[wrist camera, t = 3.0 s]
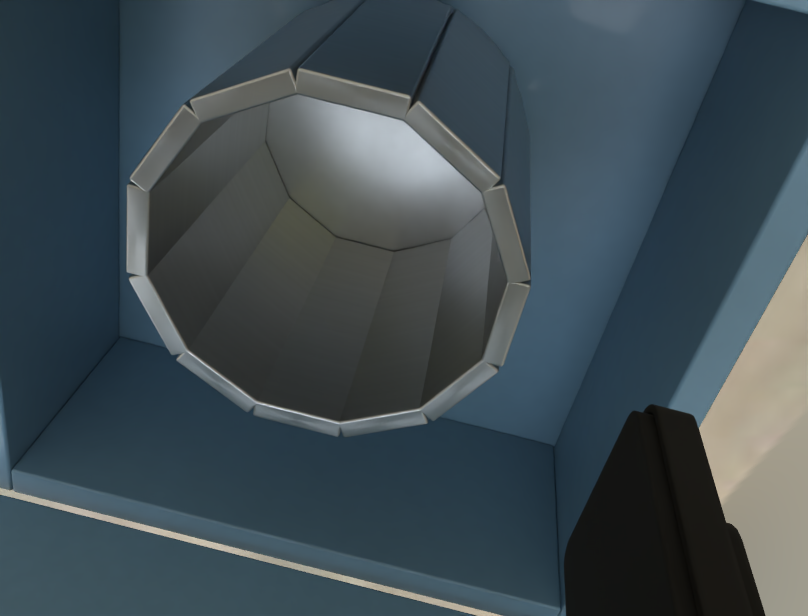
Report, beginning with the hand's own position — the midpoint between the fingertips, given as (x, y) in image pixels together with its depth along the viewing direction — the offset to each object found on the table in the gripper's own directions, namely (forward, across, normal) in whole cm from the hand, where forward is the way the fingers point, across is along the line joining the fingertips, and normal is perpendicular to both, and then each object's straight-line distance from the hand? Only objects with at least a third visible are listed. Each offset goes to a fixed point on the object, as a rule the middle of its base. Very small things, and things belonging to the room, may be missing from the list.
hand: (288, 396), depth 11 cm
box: (+11, 0, +1) cm, 11 cm away
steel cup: (+10, 0, 0) cm, 10 cm away
